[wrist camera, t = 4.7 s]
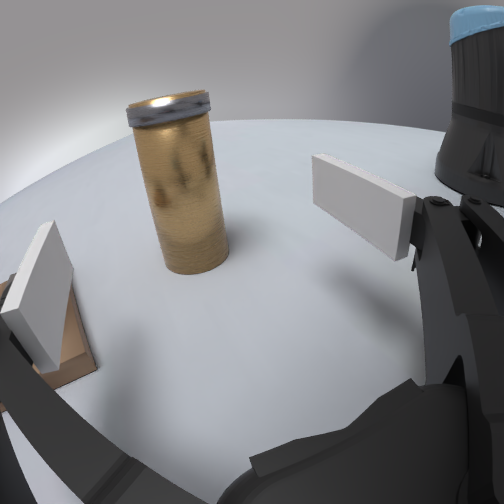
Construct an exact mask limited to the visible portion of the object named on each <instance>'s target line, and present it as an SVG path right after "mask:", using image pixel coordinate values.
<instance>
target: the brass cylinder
mask: <svg viewBox="0 0 504 504" xmlns="http://www.w3.org/2000/svg"><path fill="white" fill-rule="evenodd" d="M210 110H211V107H210V100H209V93H208V92H205V90H196V91H189V92H183V93H177V94H172V95H167V96H162V97H157V98H153V99H149V100H144V101H141V102H137V103H133V104H130V105H129V108H127V109H126V112H127V117H128V123H129V127H133V132H134V137H135V142H136V147H137V152H138V157H139V161H140V166H141V171H142V175H143V179H144V184H145V188H146V192H147V196H148V200H149V204H150V208H151V212H152V216H153V220H154V224H155V228H156V232H157V235H158V239H159V243H160V246H161V250H162V254H163V257H164V261H165V264H166V266H167V268H168V269H169V270H171V271H173V272H175V273H179V274H198V273H202V272H206V271H209V270H211V269H213V268H215V267H217V266H218V265H220V264H221V263H222V262H224V260H225V259H226V258H227V256H228V253H229V249H228V243H227V236H226V230H225V224H224V217H223V211H222V204H221V198H220V191H219V185H218V178H217V171H216V164H215V158H214V151H213V144H212V137H211V130H210V122H209V115H208V111H210Z"/></svg>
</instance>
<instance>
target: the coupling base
mask: <svg viewBox="0 0 504 504" xmlns="http://www.w3.org/2000/svg"><path fill="white" fill-rule="evenodd" d="M16 274H17V273H15V274H12V275H10V277H9V280H8V281H6V282H4V283H2V284H0V298H1V296H2V294H3V291H4V290H5V289H6V287H7V286H8V285H9V284H10V282H13V280H14V278H15V276H16ZM0 300H1V299H0ZM33 368H34V370H35V371H36V372H37V373H38V374H39V375H40V376H41V377H42V378H43V379H44V380H45V382H46V383H47V384H48V385H49V386H50V387H51V388H52V389H53V390H54V389H56V388H58V387H60V386H62V385H65V384H67V383H69V382H71V381H73V380H76V379H78V378H80V377H82V376H84V375H86V374H88V373H91V372H93V371H95V370H97V368H96V365H95V363H94V360H93V357H92V354H91V351H90V348H89V345H88V342H87V339H86V335H85V332H84V329H83V325H82V322H81V319H80V315H79V311H78V308H77V304H76V300H75V296H74V292H73V288H72V284H71V286H70V292H69V297H68V303H67V309H66V316H65V323H64V330H63V338H62V346H61V355H60V366H59V370H57V371H53V372H48V373H44V374H41V372H40V371H39V370H38V368H37V367H36V366H35V365H34V363H33ZM0 411H1V412H4V411H6V408H5V407H4V405H3V404H2V402H1V403H0Z"/></svg>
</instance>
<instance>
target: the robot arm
mask: <svg viewBox="0 0 504 504" xmlns="http://www.w3.org/2000/svg"><path fill="white" fill-rule="evenodd" d="M449 46H450V47H451V51H452V118H451V121H450V124H449V127H448V129H447V132H446V134H445V137H444V140H443V142H442V145H441V148H440V151H439V152H438V154H437V157H436V167H435V174H436V176H437V177H438V178H439V179H440V180H441V181H442V182H443V183H445V184H446V185H448V186H449V187H451V188H453V189H455V190H457V191H459V192H461V193H463V194H466V195H463V196H462V198H461V203H460V206H453V205H452V204H451V202H449V201H448V200H446V199H443V198H442V197H438V196H429V197H425V198H424V199H421V198H419V197H417V195H416V194H414V193H412V192H410V191H408V190H406V189H404V188H402V187H399V186H397V185H395V184H393V183H391V182H389V181H387V180H385V179H383V178H380V177H378V176H376V175H374V174H372V173H369V172H367V171H365V170H363V169H360V168H358V167H356V166H353V165H351V164H349V163H346V162H344V161H342V160H339V159H337V158H334V157H332V156H329V155H327V154H324V153H323V154H317V155H312V174H313V203H314V204H315V205H317V206H318V207H320V208H321V209H322V210H324V211H325V212H327V213H328V214H330V215H331V216H333V217H334V218H335V219H337V220H338V221H340V222H341V223H343V224H344V225H345V226H347V227H348V228H350V229H351V230H353V231H354V232H355V233H357V234H358V235H359V236H361V237H362V238H364V239H365V240H366V241H368V242H369V243H370V244H372V245H373V246H375V247H376V248H377V249H379V250H380V251H381V252H383V253H384V254H385V255H387V256H388V257H389V258H391V259H392V260H393V261H398V260H400V259H403V258H405V257H407V256H408V251H409V245H410V243H411V244H412V245H414V246H415V247H416V250H415V255H414V260H413V265H412V270H411V271H414V268H416V269H417V276H418V283H419V291H420V300H421V309H422V319H423V331H424V345H425V366H426V384H425V385H424V386H419V387H418V386H417V385H416V383H415V382H414V381H413V380H412V379H411V378H410V379H408V380H407V381H405V382H404V383H402V384H400V385H399V386H397V387H396V388H394V389H392V390H391V391H389V392H387V393H386V394H384V395H382V396H381V397H379V398H378V399H377V400H376V401H375V402H374V403H373V404H372V405H370V406H369V407H368V408H367V409H366V410H365V411H364V412H363V413H362V414H361V415H360V416H359V417H358V418H357V419H356V420H355V421H353V422H352V423H351V424H350V425H349V426H348V427H346V428H344V429H341V430H337V431H333V432H329V433H325V434H320V435H316V436H311V437H306V438H301V439H295V440H293V441H290V442H288V443H286V444H283V445H281V446H278V447H276V448H273V449H271V450H268V451H265V452H263V453H260V454H257V455H255V456H252V457H249V459H250V462H251V465H252V468H251V469H250V470H248V471H247V472H245V473H244V474H242V475H241V476H240V477H239V478H237V479H236V480H235V481H234V482H233V483H232V484H231V485H230V486H229V487H228V488H227V489H226V490H225V492H224V493H223V494H222V496H221V497H220V498H219V500H218V502H217V504H504V218H503V217H502V216H501V215H500V214H499V213H498V212H497V211H496V210H495V209H494V208H493V207H492V206H490V205H489V204H488V203H487V202H489V203H492V204H496V205H501V206H504V7H501V6H485V5H483V6H472V7H466V8H462V9H459V10H457V11H456V12H454V13H453V15H452V16H451V18H450V42H449ZM481 235H482V243H481V246H480V247H479V246H478V244H479V240H480V236H481ZM73 271H74V268H73V266H72V264H71V261H70V259H69V256H68V254H67V252H66V249H65V247H64V244H63V241H62V239H61V236H60V234H59V231H58V228H57V226H56V223H55V220H53V221H50V222H47V223H44V224H41V225H40V227H39V229H38V231H37V233H36V235H35V237H34V238H33V240H32V242H31V244H30V246H29V248H28V250H27V252H26V254H25V256H24V259H23V261H22V263H21V265H20V267H19V269H18V271H17V274H16V276H15V278H14V280H13V282H10V284H9V285H8V286H7V287H6V289H5V290H4V291H3V294H2V296H1V298H0V299H1V300H0V403H1V402H2V404H3V405H4V407H5V408H6V410H7V411H8V413H9V414H10V416H11V417H12V419H13V420H14V422H15V423H16V425H17V426H18V427H19V429H20V430H21V431H22V433H23V434H24V436H25V437H26V438H27V440H28V441H29V442H30V443H31V445H32V446H33V447H34V449H35V450H36V451H37V452H38V454H39V455H40V456H41V457H42V458H43V460H44V461H45V462H46V463H47V464H48V465H49V467H50V468H51V469H52V470H53V471H54V472H55V473H56V475H57V476H58V477H59V478H60V479H61V480H62V481H63V482H64V483H65V484H66V485H67V486H68V487H69V488H70V490H71V491H72V492H73V493H74V494H75V495H76V496H77V497H78V498H79V499H80V500H81V501H82V502H83V503H84V504H208V503H206V502H204V501H202V500H201V499H199V498H197V497H195V496H194V495H192V494H190V493H188V492H187V491H185V490H183V489H182V488H180V487H178V486H177V485H175V484H173V483H172V482H170V481H169V480H167V479H165V478H164V477H162V476H161V475H159V474H158V473H156V472H155V471H153V470H152V469H150V468H149V467H147V466H146V465H144V464H143V463H141V462H140V461H139V460H137V459H135V458H134V457H130V456H129V455H127V454H126V453H124V452H123V451H122V450H121V449H119V448H118V447H117V446H115V445H114V444H113V443H112V442H110V441H109V440H108V439H107V438H105V437H104V436H103V435H102V434H101V433H99V432H98V431H97V430H96V429H95V428H94V427H92V426H91V425H90V424H89V423H88V422H87V421H86V420H84V419H83V418H82V417H81V416H80V415H79V414H78V413H77V412H76V411H75V410H74V409H72V408H71V407H70V406H69V405H68V404H67V403H66V402H65V401H64V400H63V399H62V398H61V397H60V396H59V395H58V394H57V393H56V392H55V391H54V390H53V389H52V388H51V387H50V386H49V385H48V384H47V383H46V382H45V380H44V379H43V378H42V377H41V376H40V375H39V374H38V373H37V372H36V371H35V370H34V368H33V363H34V365H35V366H36V367H37V368H38V370H39V371H40V372H41V374H44V373H48V372H53V371H57V370H59V366H60V355H61V346H62V338H63V330H64V323H65V316H66V309H67V303H68V297H69V292H70V286H71V281H72V276H73ZM0 504H37V502H36V500H35V498H34V496H33V494H32V492H31V490H30V487H29V485H28V483H27V481H26V479H25V477H24V474H23V472H22V470H21V467H20V465H19V462H18V460H17V457H16V455H15V452H14V450H13V447H12V444H11V441H10V439H9V436H8V433H7V430H6V427H5V424H4V421H3V417H2V414H1V411H0Z"/></svg>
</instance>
